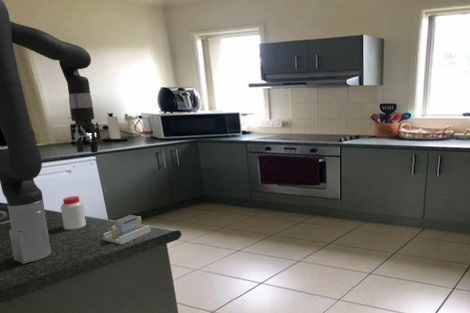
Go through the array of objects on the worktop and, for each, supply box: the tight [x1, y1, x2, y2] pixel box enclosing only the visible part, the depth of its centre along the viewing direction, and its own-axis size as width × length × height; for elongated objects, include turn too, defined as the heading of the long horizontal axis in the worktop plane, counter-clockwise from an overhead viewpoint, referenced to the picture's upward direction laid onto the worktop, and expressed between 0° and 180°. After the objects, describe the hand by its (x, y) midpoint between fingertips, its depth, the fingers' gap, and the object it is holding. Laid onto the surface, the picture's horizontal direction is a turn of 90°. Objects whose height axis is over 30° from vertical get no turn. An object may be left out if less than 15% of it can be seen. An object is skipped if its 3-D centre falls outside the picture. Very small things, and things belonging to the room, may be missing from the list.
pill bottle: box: [60, 195, 87, 231], centre depth 139 cm, size 8×8×11 cm
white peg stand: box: [103, 215, 152, 245], centre depth 124 cm, size 12×9×5 cm
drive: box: [113, 214, 140, 236], centre depth 124 cm, size 7×4×5 cm, turn 145°
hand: (87, 152), depth 132 cm, fingers open, 8 cm apart
